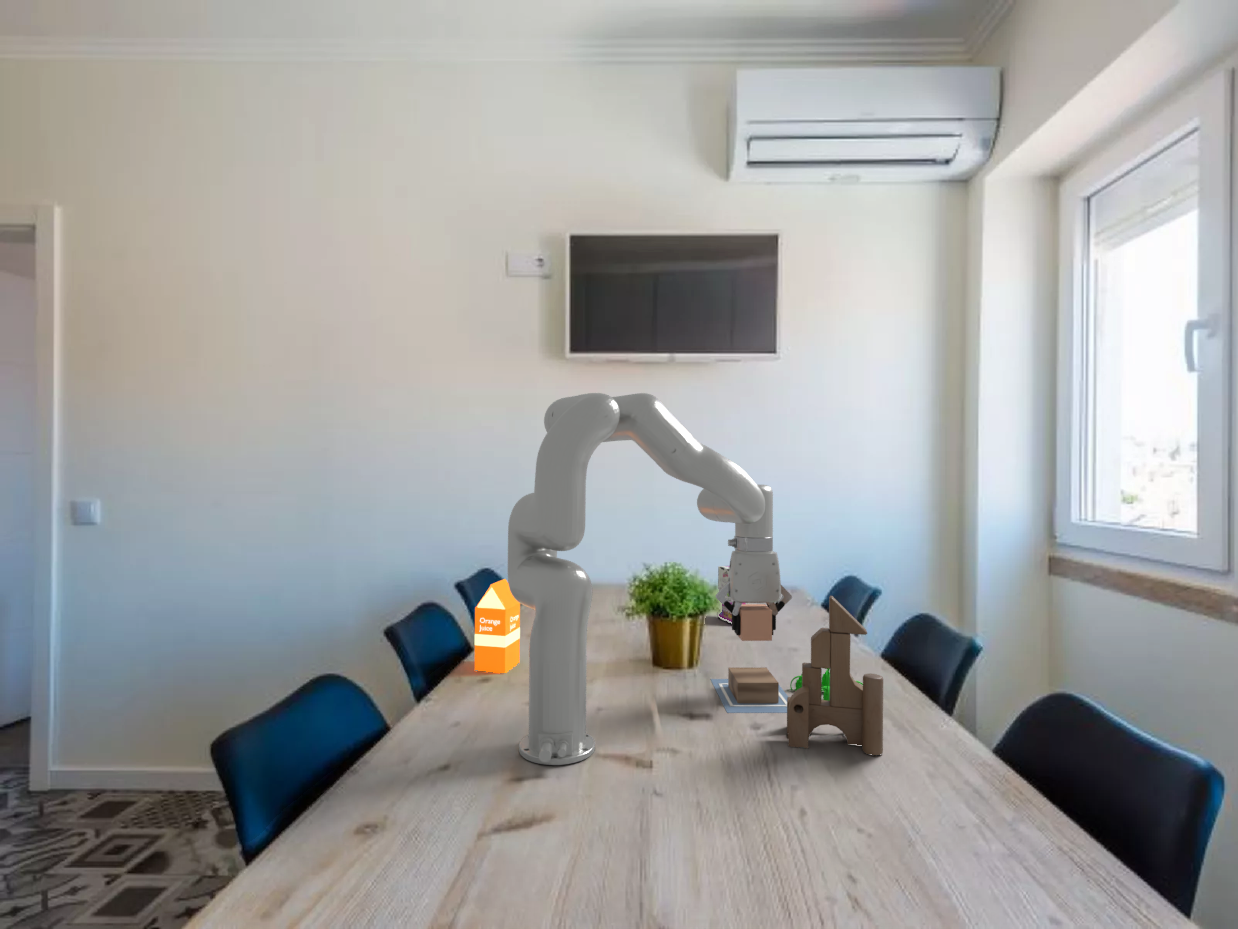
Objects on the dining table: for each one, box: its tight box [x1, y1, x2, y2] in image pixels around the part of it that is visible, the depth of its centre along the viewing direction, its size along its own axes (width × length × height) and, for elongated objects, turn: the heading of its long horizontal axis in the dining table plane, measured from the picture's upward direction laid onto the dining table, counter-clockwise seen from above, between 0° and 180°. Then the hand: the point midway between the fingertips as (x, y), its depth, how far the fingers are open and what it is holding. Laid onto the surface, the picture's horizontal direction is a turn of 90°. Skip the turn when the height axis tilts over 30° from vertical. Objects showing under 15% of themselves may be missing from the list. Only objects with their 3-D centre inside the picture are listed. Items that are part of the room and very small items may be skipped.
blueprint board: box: [710, 678, 789, 714], centre depth 137 cm, size 20×14×1 cm
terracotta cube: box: [737, 603, 773, 642], centre depth 137 cm, size 6×6×6 cm
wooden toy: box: [786, 595, 884, 756], centre depth 115 cm, size 16×7×25 cm, turn 75°
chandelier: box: [790, 668, 863, 701], centre depth 139 cm, size 15×15×7 cm
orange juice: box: [474, 578, 521, 674], centre depth 158 cm, size 8×9×20 cm
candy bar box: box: [717, 565, 749, 622], centre depth 205 cm, size 11×5×16 cm, turn 17°
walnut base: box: [727, 667, 780, 703], centre depth 137 cm, size 10×8×4 cm
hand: (753, 632), depth 137 cm, fingers closed on terracotta cube, 6 cm apart
